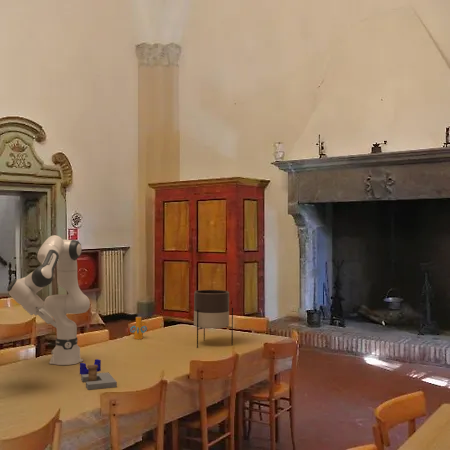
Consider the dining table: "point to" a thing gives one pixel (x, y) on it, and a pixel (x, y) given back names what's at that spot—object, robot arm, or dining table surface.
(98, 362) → the cable clip
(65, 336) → the robot arm
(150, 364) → the dining table surface
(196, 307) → the planter
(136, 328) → the orange post with rings
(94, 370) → the bobbin
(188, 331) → the dining table surface
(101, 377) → the notched board
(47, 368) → the dining table surface
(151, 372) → the dining table surface
